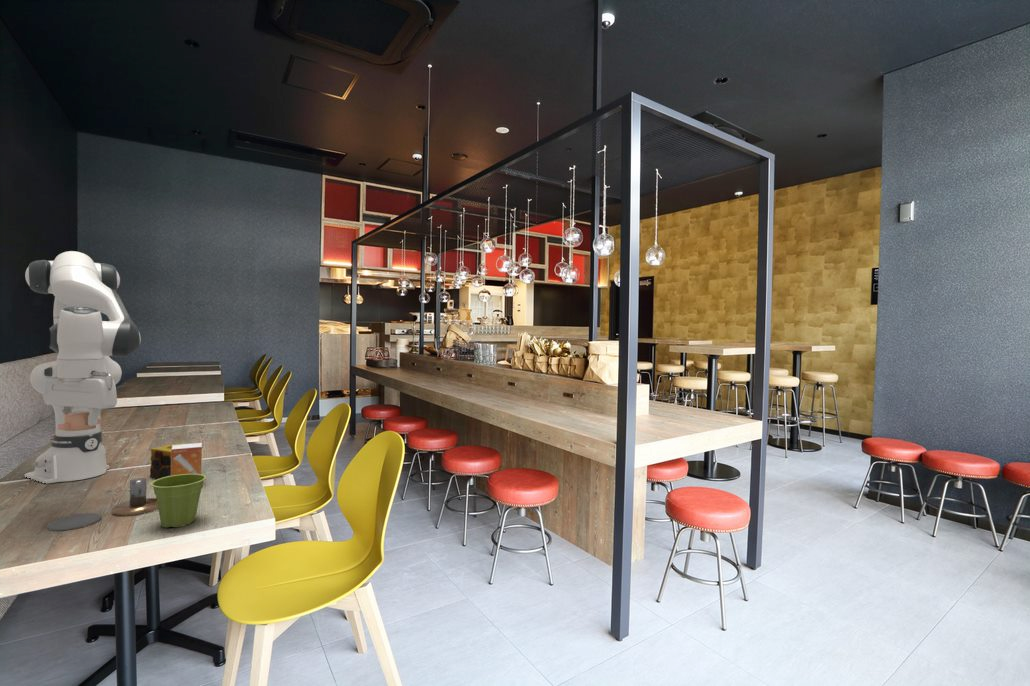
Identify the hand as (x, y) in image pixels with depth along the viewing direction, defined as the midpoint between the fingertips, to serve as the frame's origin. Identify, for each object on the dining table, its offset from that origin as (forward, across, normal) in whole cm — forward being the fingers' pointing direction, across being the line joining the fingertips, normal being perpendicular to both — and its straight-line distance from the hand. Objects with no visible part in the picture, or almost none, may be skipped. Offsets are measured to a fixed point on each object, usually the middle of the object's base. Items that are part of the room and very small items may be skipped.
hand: (80, 424), depth 121 cm
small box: (+26, 0, -30) cm, 40 cm away
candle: (+26, +13, -38) cm, 47 cm away
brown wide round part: (+25, -5, -11) cm, 28 cm away
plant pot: (+26, -24, -7) cm, 36 cm away
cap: (+1, 0, 0) cm, 1 cm away
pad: (+25, 0, +1) cm, 25 cm away
